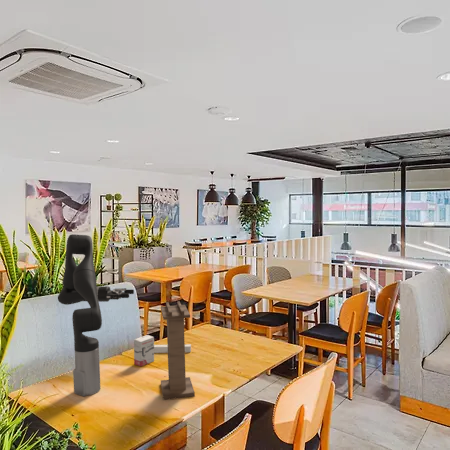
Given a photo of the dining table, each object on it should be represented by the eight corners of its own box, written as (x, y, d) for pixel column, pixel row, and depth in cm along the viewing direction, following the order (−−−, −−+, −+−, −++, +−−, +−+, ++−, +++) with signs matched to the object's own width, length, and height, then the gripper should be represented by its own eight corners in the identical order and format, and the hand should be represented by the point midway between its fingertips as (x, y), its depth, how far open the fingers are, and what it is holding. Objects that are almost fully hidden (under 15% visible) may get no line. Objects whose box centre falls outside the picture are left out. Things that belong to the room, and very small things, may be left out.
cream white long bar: (142, 353, 197) (142, 346, 197) (144, 350, 200) (144, 344, 200) (190, 352, 196) (190, 346, 196) (191, 350, 200) (190, 343, 200)
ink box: (141, 367, 180) (140, 341, 179) (133, 364, 183) (133, 339, 182) (155, 360, 186) (154, 336, 186) (148, 358, 190) (147, 334, 189)
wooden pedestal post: (160, 383, 163) (158, 303, 161) (189, 379, 165) (187, 300, 164) (163, 401, 147) (160, 313, 145) (195, 397, 150) (192, 310, 148)
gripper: (93, 289, 190) (127, 289, 189) (104, 283, 204) (134, 283, 204) (94, 305, 190) (127, 304, 190) (104, 298, 205) (135, 297, 204)
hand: (131, 293), depth 197 cm, fingers open, 8 cm apart
